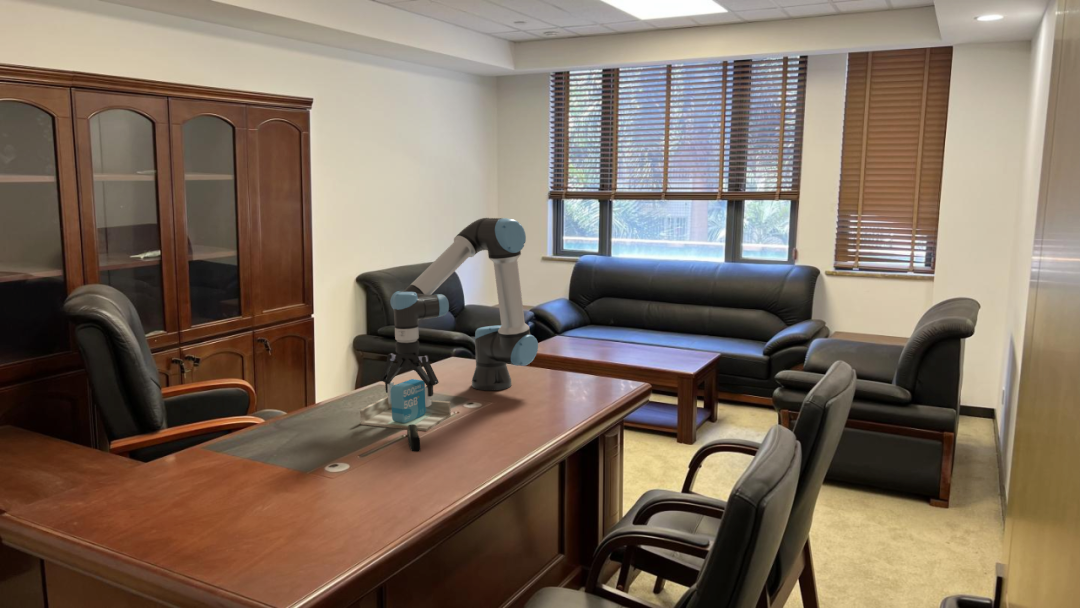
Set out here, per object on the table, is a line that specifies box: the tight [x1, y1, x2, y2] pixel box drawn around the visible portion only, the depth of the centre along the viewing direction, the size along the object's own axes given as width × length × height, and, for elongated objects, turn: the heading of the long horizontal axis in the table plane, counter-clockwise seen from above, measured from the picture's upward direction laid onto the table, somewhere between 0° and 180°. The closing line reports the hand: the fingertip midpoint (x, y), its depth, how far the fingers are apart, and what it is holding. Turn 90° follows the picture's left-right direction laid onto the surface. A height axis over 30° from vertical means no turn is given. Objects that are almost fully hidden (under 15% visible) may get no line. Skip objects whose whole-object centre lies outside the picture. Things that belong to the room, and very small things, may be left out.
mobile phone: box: [406, 424, 421, 453], centre depth 231 cm, size 5×3×15 cm
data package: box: [391, 378, 426, 423], centre depth 252 cm, size 12×4×12 cm, turn 150°
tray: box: [359, 395, 452, 432], centre depth 254 cm, size 17×24×5 cm
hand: (409, 404), depth 252 cm, fingers open, 13 cm apart
